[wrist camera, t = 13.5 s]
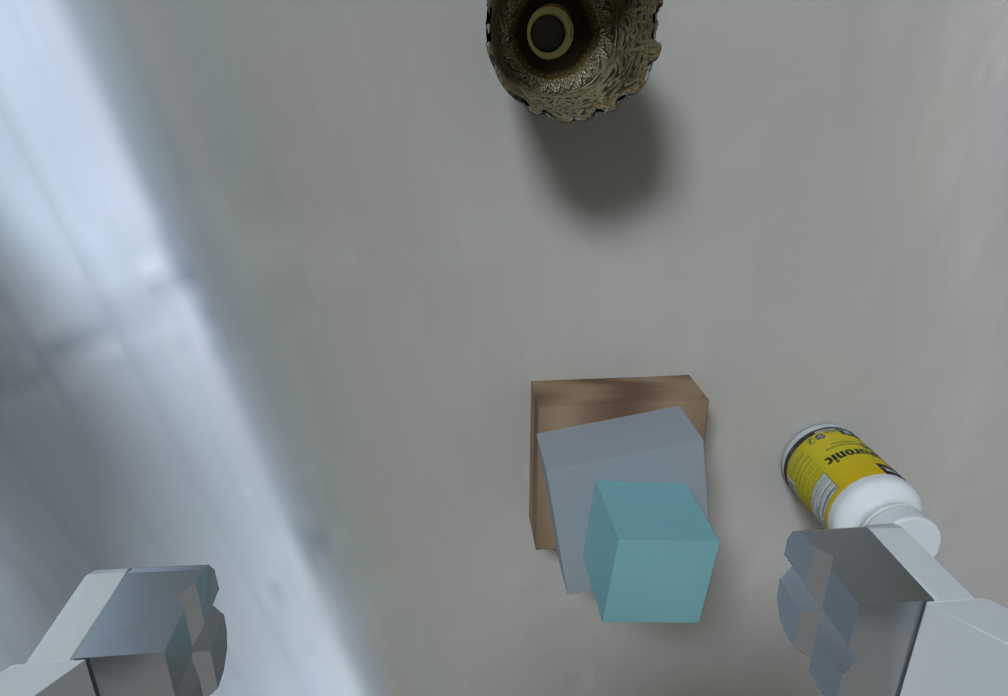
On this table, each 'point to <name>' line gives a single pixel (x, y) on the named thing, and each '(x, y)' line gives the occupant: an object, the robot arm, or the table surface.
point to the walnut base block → (595, 403)
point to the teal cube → (648, 552)
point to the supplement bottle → (853, 485)
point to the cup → (573, 54)
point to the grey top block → (614, 472)
